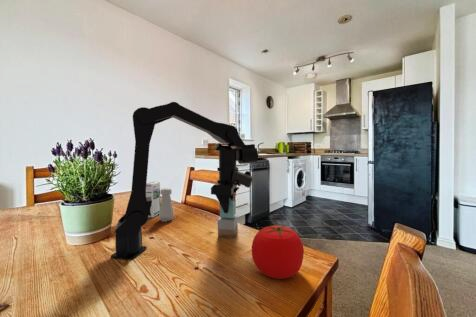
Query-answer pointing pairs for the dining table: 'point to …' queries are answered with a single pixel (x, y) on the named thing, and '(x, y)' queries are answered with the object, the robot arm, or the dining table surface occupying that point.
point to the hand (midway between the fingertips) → (227, 210)
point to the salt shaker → (166, 205)
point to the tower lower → (227, 233)
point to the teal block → (229, 210)
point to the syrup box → (154, 197)
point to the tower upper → (227, 223)
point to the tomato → (277, 251)
